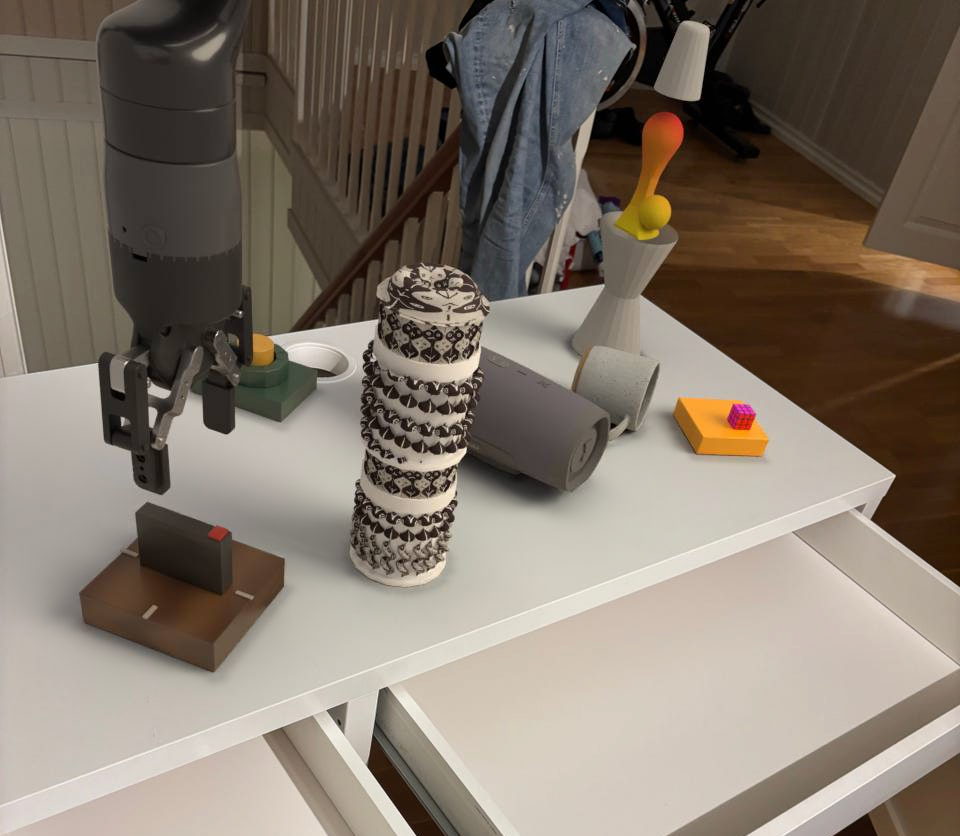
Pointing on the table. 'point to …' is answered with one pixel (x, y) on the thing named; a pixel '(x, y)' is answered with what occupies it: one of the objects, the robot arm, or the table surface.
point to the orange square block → (720, 426)
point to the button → (262, 350)
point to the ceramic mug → (617, 385)
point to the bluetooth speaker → (535, 425)
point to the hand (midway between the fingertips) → (187, 458)
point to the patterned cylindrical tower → (416, 421)
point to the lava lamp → (644, 207)
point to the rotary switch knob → (184, 547)
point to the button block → (272, 386)
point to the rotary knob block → (182, 605)
